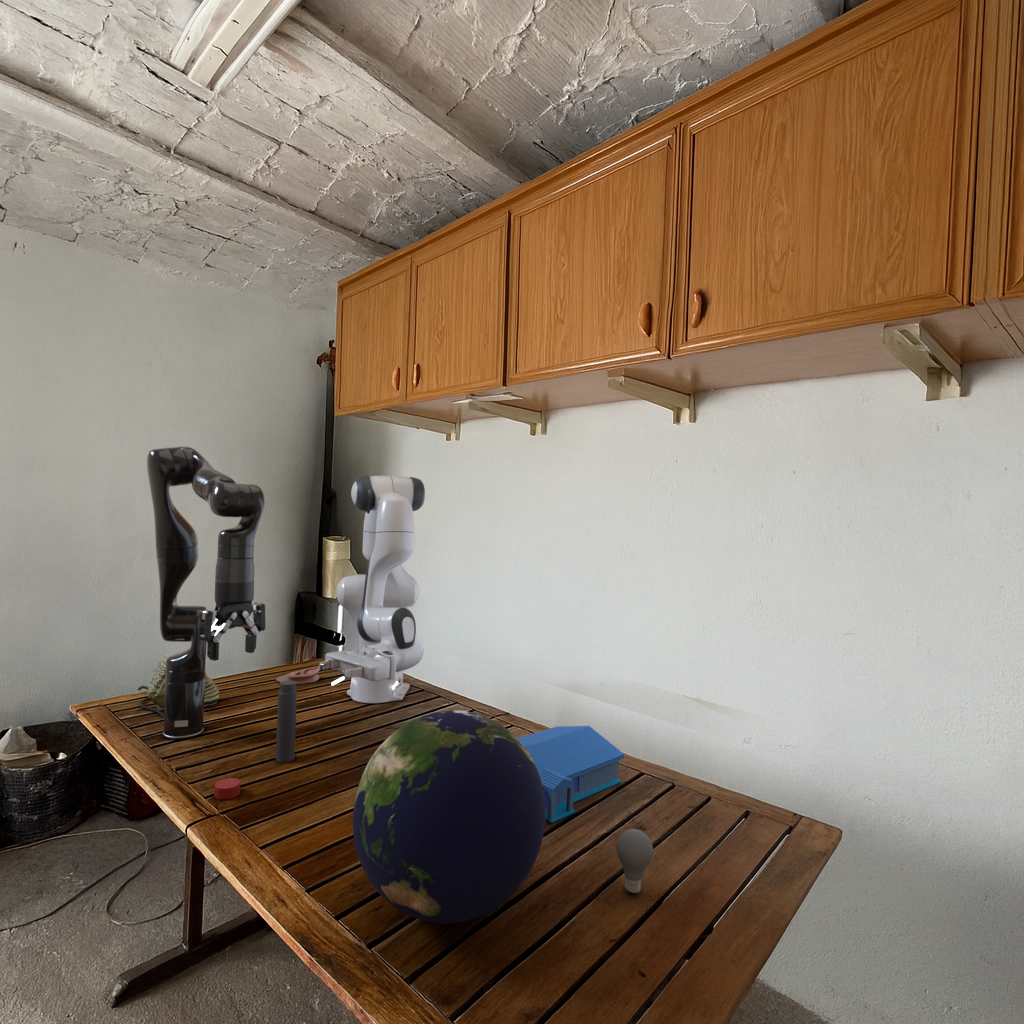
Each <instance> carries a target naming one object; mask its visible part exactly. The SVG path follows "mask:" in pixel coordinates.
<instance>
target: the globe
mask: <svg viewBox="0 0 1024 1024" xmlns="http://www.w3.org/2000/svg"><path fill="white" fill-rule="evenodd" d="M517 738H518V737H517V736H516V735H515V734H513V732H511V730H509V729H507V728H506V727H505V726H503V725H502V724H500V723H498V722H497V721H495V720H493V719H492V718H489V717H487V716H485V715H481V714H479V713H476V712H471V711H467V710H458V709H457V710H442V711H435V712H431V713H428V714H425V715H422V716H419V717H417V718H415V719H413V720H410V721H409V722H407V723H405V724H404V725H402V726H400V727H399V728H398V729H397V730H395V731H394V732H392V734H390V735H389V736H388V737H386V739H385V740H384V741H383V742H382V743H381V744H380V745H379V746H378V747H377V749H376V750H375V752H374V753H373V755H372V756H371V757H370V759H369V761H368V762H367V764H366V766H365V768H364V771H363V772H362V775H361V777H360V780H359V783H358V786H357V789H356V793H355V797H354V803H353V808H352V831H353V841H354V845H355V846H354V847H355V851H356V855H357V856H358V860H359V863H360V866H361V868H362V870H363V872H364V874H365V876H366V877H367V878H368V881H369V882H370V884H371V885H372V887H373V888H374V889H375V890H376V891H377V893H378V895H380V896H381V897H382V898H383V899H384V900H385V901H386V902H387V903H388V904H389V905H391V906H392V907H394V908H395V909H396V910H398V911H399V912H401V913H403V914H404V915H407V916H409V917H411V918H414V919H416V920H419V921H423V922H427V923H432V924H441V925H443V924H447V925H448V924H458V923H463V922H468V921H471V920H474V919H478V918H480V917H482V916H484V915H487V914H489V913H490V912H492V911H494V910H495V909H497V908H498V907H500V906H501V905H503V904H504V903H505V902H506V901H507V900H508V899H509V898H511V897H512V896H513V895H514V894H515V892H516V891H517V890H519V888H520V887H521V886H522V884H523V883H524V882H525V880H526V879H527V877H528V876H529V874H530V872H531V870H532V869H533V867H534V865H535V863H536V860H537V858H538V856H539V853H540V850H541V847H542V844H543V839H544V834H545V830H546V829H545V828H546V821H547V820H546V806H545V796H544V791H543V786H542V782H541V779H540V775H539V773H538V770H537V768H536V765H535V763H534V761H533V759H532V757H531V756H530V754H529V752H528V751H527V749H526V748H525V747H524V746H523V744H522V743H521V742H520V741H519V740H518V739H517Z"/></svg>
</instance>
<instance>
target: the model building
mask: <svg viewBox="0 0 1024 1024" xmlns="http://www.w3.org/2000/svg"><path fill="white" fill-rule="evenodd" d="M516 738H517V739H518V740H519V741H520V742H521V743H522V744H523V746H524V747H525V748H526V749H527V751H528V752H529V754H530V756H531V757H532V759H533V761H534V763H535V765H536V768H537V770H538V773H539V775H540V779H541V782H542V786H543V791H544V796H545V806H546V820H545V821H548V823H551V824H553V823H556V822H557V821H559V820H562V819H564V818H567V817H569V816H570V815H573V814H575V813H576V810H575V809H574V803H576V802H578V801H580V800H583V799H585V798H587V797H589V796H592V795H594V794H597V793H599V792H601V791H604V790H607V789H609V788H611V787H613V786H615V785H617V784H620V783H622V779H620V778H618V777H619V761H621V760H623V759H625V753H623V751H621V750H620V749H619V748H617V747H616V746H615V745H613V743H611V741H609V740H607V738H605V737H604V736H602V735H601V734H600V733H599V732H597V731H596V730H595V729H594V728H593V727H592V726H590V725H566V726H565V725H564V726H563V725H561V726H560V725H559V726H553V727H550V728H548V729H544V730H540V731H537V732H534V733H531V734H527V735H523V736H520V737H516Z"/></svg>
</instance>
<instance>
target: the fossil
mask: <svg viewBox="0 0 1024 1024" xmlns="http://www.w3.org/2000/svg"><path fill="white" fill-rule="evenodd" d="M171 655H172V654H165V655H164V656H163V657H162V658H161V659H160V660H159V662H158V663H157V666H156V667H155V669H154V670H153V672H152V675H151V677H150V680H149V684H148V687H149V688H148V690H147V697H149V698H150V699H149V700H150V701H152V703H153V704H154V706H155V709H158V710H160V711H161V712H163V711H164V705H165V674H166V660H167V658H168V657H170V656H171ZM220 698H221V696H220V690H219V688H218V686H217V685H216V683H215V682H214V681H213V679H212V678H211V677H209V675H208V674H207V672H206V671H205V693H204V707H207V706H213V705H215V704H217V703H218V701H219V699H220Z"/></svg>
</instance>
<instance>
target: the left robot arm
mask: <svg viewBox="0 0 1024 1024" xmlns="http://www.w3.org/2000/svg"><path fill="white" fill-rule="evenodd" d="M146 469H147V476H148V483H149V487H150V488H149V489H150V495H151V501H152V509H153V517H154V518H153V519H154V535H155V536H154V538H155V539H154V540H155V553H156V562H157V571H158V581H159V583H158V584H159V631H160V635H161V638H162V640H163V641H165V642H168V643H169V642H171V643H180V642H181V643H190V647H189V648H187V649H185V650H182V651H180V652H176V653H174V654H170V655H171V656H170V657H168V658H167V660H166V674H165V705H164V710H163V711H160V710H158V709H156V707H152V706H148V705H145V704H144V703H145V702H147V701H149V700H151V699H150V698H149V697H148V696H147V697H145V698H144V699H142V700H141V701H140V702H139V706H140V707H141V708H143V709H145V710H149V711H151V712H155V713H157V714H159V715H160V716H161V717H162V718H163V731H162V737H164V738H166V739H169V740H185V739H190V738H191V739H192V738H194V737H197V736H199V735H202V734H203V732H204V730H205V729H204V722H205V721H204V718H205V706H204V693H205V672H206V664H207V663H206V660H207V658H208V659H209V660H210V661H212V662H215V661H216V662H217V661H218V660H219V659H220V642H219V641H220V639H221V638H222V636H223V635H224V634H226V632H227V631H228V630H229V629H235V628H243V629H244V631H245V633H247V634H245V641H244V643H245V644H244V651H245V653H249V654H252V653H255V650H257V649H256V648H257V637H258V634H260V632H264V631H266V604H265V603H262V602H254V603H253V601H254V598H255V577H256V576H255V574H256V573H255V571H256V567H255V539H256V535H257V531H258V528H259V525H260V522H261V519H262V516H263V514H264V509H265V506H266V498H265V494H264V491H263V490H262V488H261V487H260V486H259V485H257V484H252V483H251V484H250V483H237V482H236V481H235V480H234V478H232V477H230V476H228V475H226V474H224V473H222V472H221V471H219V470H217V469H215V468H214V467H213V466H212V465H211V463H209V461H208V460H207V459H206V458H205V457H204V456H203V455H202V454H201V453H200V452H199V451H198V450H196V449H195V448H193V447H191V446H173V447H171V446H170V447H162V448H154V449H151V450H150V451H148V454H147V457H146ZM187 485H191V488H192V490H193V492H194V493H195V495H197V496H198V498H200V499H201V500H203V501H205V502H206V503H207V504H208V506H209V508H210V511H211V512H212V514H214V515H216V516H218V517H222V518H240V520H239V521H238V523H237V525H235V526H233V527H230V528H229V527H228V528H225V529H222V530H220V531H219V533H218V537H217V559H216V563H215V564H216V565H215V573H214V574H215V578H214V580H215V581H214V582H215V583H214V602H215V607H214V609H210V610H208V609H207V607H206V606H204V605H178V601H177V600H178V594H179V592H180V590H181V589H182V586H183V585H184V584H185V582H186V581H187V579H188V578H189V577H190V576H191V574H192V573H193V571H194V569H195V568H196V566H197V564H198V561H199V541H198V534H197V531H195V529H194V527H193V526H192V525H191V524H190V522H188V520H187V519H186V518H185V517H184V516H183V515H182V514H181V512H180V511H179V510H178V509H177V507H176V506H175V505H174V503H173V501H172V498H171V493H170V488H172V487H177V486H187ZM252 613H253V614H252ZM251 615H253V618H251ZM214 620H215V621H214ZM213 621H214V622H213ZM148 688H149V686H146V685H141V686H139V687H138V688H137V691H141V690H142V689H144V690H146V691H148Z"/></svg>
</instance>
